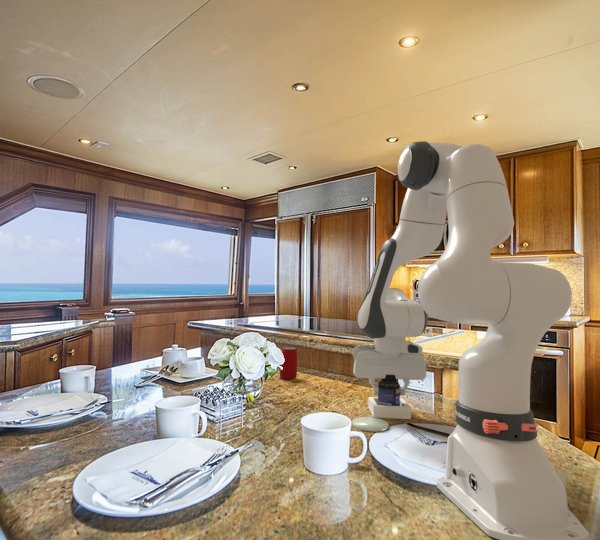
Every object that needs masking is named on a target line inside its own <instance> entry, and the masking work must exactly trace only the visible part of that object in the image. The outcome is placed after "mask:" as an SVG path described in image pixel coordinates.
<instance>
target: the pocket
mask: <svg viewBox="0 0 600 540" xmlns="http://www.w3.org/2000/svg"><path fill="white" fill-rule="evenodd" d="M367 401H368V403H367V407H368V409H369V411H370V413H371V416H373V418H378V419H399V420H400V419H402V420H412V407H411V406H410V405H409V404H408V403H407V401H406V400H405V399H404V398H402V397H400V406H384V405H378V396H375V397H374V396H369V397H368V400H367Z"/></svg>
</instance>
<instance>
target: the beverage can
mask: <svg viewBox="0 0 600 540" xmlns="http://www.w3.org/2000/svg"><path fill="white" fill-rule="evenodd" d="M281 351H282V353H283V355H284V358H285V362H284V364H283V365H282V367H283V370H280V369H279V378H281V379H282V378H283V379H282V380H284V379H293V380H295V379H296V378H297V377H298V376H297V375H298V374H297V373H298V351H297V348H296V347H293V346H283V347H282V349H281V350H280V352H281ZM294 378H295V379H294Z"/></svg>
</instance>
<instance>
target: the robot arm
mask: <svg viewBox="0 0 600 540" xmlns="http://www.w3.org/2000/svg"><path fill="white" fill-rule="evenodd" d="M397 178H398V180H399V182H400V184H401V186H403V187H404V188H407V190H406V192H405V195H404V198H403V202H402V204H401V205H402V206H401V211H400V216H399V221H398V225H397V227H396V229H395V231H394V232H393V234H392V236H391V237H390V238H389V239H387V240H385V242H383V244H382V245H381V249H380V251H379V253H378V256H377V259H376V261H375V265H374V268H373V271H372V275H371V278H370V280H369V284H368V288H367V290H366V293H365V296H364V299H363V300H362V302H361V305H360V306H359V309H358V311H357V312H358V313H357V319H356V322H357V326H358V328H359V330H360V331H361V332H362V333H363V334H364V335H365V336H366V337H367V338H369V339H370V340H372V339H373V344H363V343H362V344H361V343H360V344H358V345H356V346H355V347H353V349H352V357H353V359H354V362H353V363H354V364H353V375H354V376H355V378H358V379H368V381H369V383H370V385H371V387H372V395H377V396H378V395H379V392H378V391H379V388H378V386H376V385H375V383H376V382H375V381H376V379H378V380H379V379H380V380H382V379H385V377H386V375H395V377H396V379H397V380H402V382H403V385H402V387H400V396H405V397H406V390H407V389H408V387H409V386H410V383H411V382H410V381H413V380H414V381H424V380H425V379H426V377H427V366H426V365H427V364H426V360H425V357H424V356H423V355H422V354H423V347H422V346H421V345H420V344H417V343H415V342H413V341H410V340H406V339H407V338H414V337H419V336H421V335H423V333H424V332H425V331H426V329H427V326H428V322H429V317H430V318H433V319H436V320H438V321H439V320H440V321H444V322H449V323H454V324H464V325H465V324H468V325H469V324H470V325H472V324H473V325H474V324H475V325H488V326H487V331H486V332H485V333H486V334H485V335H484V337H483V338H482V339H481V341H480V342H479V343H477V344H476V345H474V346H471V347H469V348H467V349H466V350H465V351H464V352H463V353H462V354H461V356H460V359H458V384H457V385H458V391H457V392H458V399H457V400H456V401H455V408H454V414H455V423H456V427H455V428H454V430H453V431H452V433H451V434H449V436H448V437H447V444H446V455H445V469H444V474H445V475H444V476H442V477H439V478H437V480H436V481H437V482H436V488H437V489H438V490H439V491H440V492H441V493H443V494H444V495H445V496H446V497H447V498H448V499H449V500H450V501H451V502H452V504H454V505H455V506H456V507H457V508H458V509H460V511H462V512H463V514H465V515H466V516H467V517H468V518H469V519H470V520H471V521H472V522H473V523H474V524H475V525H476V526H477V527H478V528H479V529H481V530H482V531H483V532H484V533H485V534H486V535H487V536H489V537H491V538H494V539H496V540H591V535H590V532H589V531H588V530H587V529H586V528H585V526H584V524H582V523H581V522H580V520H579V519H578V518H577V517H576V516H575V515H574V513H572V511H571V510H570V509H569V506H568V505H569V504H568V496H567V491H566V489H567V485H568V483H567V478H566V475H565V474H564V472H562V471H556V470H555V468H554V466H553V465H552V463H551V462H550V461H551V460H550V458H549V456H548V454H546V453H545V452H544V450H543V448H542V446H541V444H540V443H539V441H538V432H539V430H538V429H537V427H539V424H538V423H537V422H536V419H535V418H534V414H533V410H531V399H530V398H531V374H532V364H533V360H534V356H535V354H536V351H537V348H538V346H539V344H540V343H541V340H543V339H542V338H543V337H544V335H545V334H546V333H547V332H548V330H549V329H550V328H551V327H552V326H554V325H555V323H558V322H559V321H560V320H561V319H563V318H564V317H565V315H567V313H568V311H569V309H570V307H571V304H572V300H573V293H572V288H571V285H570V282H569V280H568V279H567V277H566V276H565V275H564V274H563V273H562V272H561V271H560V270H558V269H555V268H552V267H548V266H543V265H539V264H534V263H526V262H525V263H522V262H501V261H500V262H499V261H497V262H496V261H493V259H492V256H491V255H492V254H491V249H493V248H496V247H498V246H499V245H501V244H503V243H504V242H506V240H508V239H509V237H510V236H511V235H512V232H513V231H514V226H515V220H514V216H513V215H514V214H513V208H512V205H511V201H510V194H509V191H508V185H507V181H506V178H505V175H504V172H503V169H502V167H501V164H500V161H499V160H498V158H497V156H496V154H495V152H494V151H493V149H491V148H490V147H489V146H487V145H485V144H481V143H471V144H470V143H469V144H467V145H457V144H454V143H448V142H428V141H425V140H422V141H413V142H410V143H409V144H408V145H406V146H405V147H404V148H403V150H402V151H401V154H400V156H399V158H398V162H397ZM446 219H447V226H448V238H447V243H446V247H445V249H444V251H443V252H442V254H441V255H440V257H439V258H438V259H437V260H436V261H434V262H433V263H432V264H431V265H429V266H428V267H427V268H426V269H425V270H424V271H423V273H422V275H421V277H420V278H419V281H418V285H417V297H418V300H419V301H415V300H413V299H411V298H409V297H408V296H407V295H406V293H405V291H404V290H403V289H400V288H390V286H391V284H392V281H393V278H394V275H395V273H396V271H397V270H398V269H400V268H401V267H402V266H403V265H405V264H407V263H410V262H412V261H414V260H418V259H421V258H423V257H426V256H428V255H430V254H432V253H433V252H434V251H435V250H436V249H437V248H438V247H439V246H440V245H441V242H442V241H443V236H444V232H445V231H444V230H445V225H446ZM536 423H537V424H536Z"/></svg>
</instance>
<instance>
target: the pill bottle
mask: <svg viewBox="0 0 600 540" xmlns="http://www.w3.org/2000/svg"><path fill="white" fill-rule="evenodd" d="M377 387H378V388H379V391H378V392H379V395H377V397H378V405H384V406H400V398H401V395H400V388H401V384H400V383H399V382H398V379H396V377H395V375H386V377H385V379H380V381H379V382H378V383H377Z"/></svg>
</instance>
